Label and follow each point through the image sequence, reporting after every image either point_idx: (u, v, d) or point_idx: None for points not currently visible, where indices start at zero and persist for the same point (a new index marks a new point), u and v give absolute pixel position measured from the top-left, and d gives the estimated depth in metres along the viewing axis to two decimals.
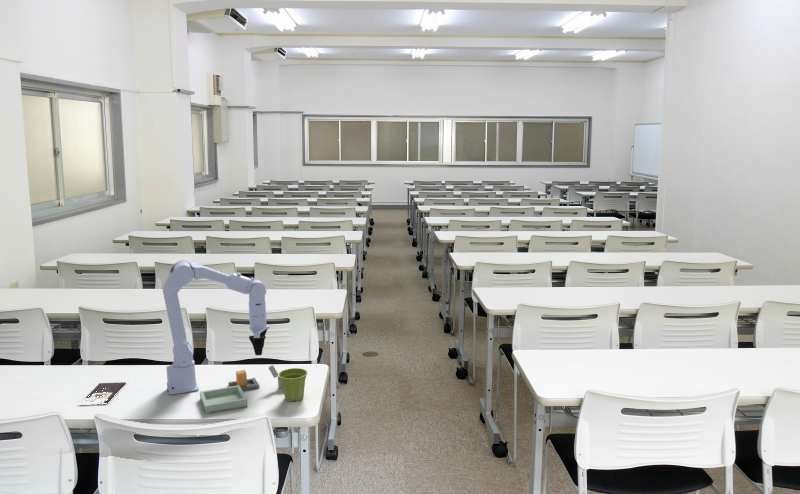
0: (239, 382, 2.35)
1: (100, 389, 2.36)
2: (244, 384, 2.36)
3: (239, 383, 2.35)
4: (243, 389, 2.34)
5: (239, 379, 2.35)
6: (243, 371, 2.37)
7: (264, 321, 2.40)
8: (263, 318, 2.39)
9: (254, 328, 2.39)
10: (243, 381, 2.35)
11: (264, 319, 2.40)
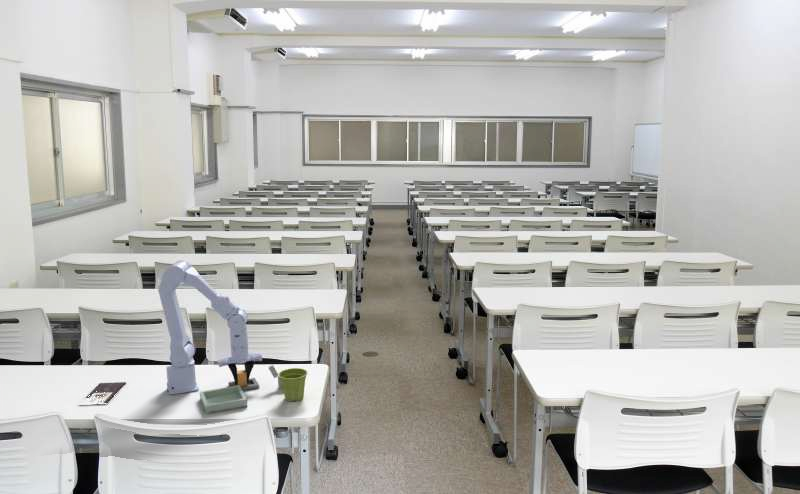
0: (239, 382, 2.35)
1: (100, 389, 2.36)
2: (244, 384, 2.36)
3: (239, 383, 2.35)
4: (243, 389, 2.34)
5: (239, 379, 2.35)
6: (243, 371, 2.37)
7: (235, 353, 2.32)
8: (235, 351, 2.32)
9: (231, 357, 2.35)
10: (243, 381, 2.35)
11: (236, 352, 2.32)
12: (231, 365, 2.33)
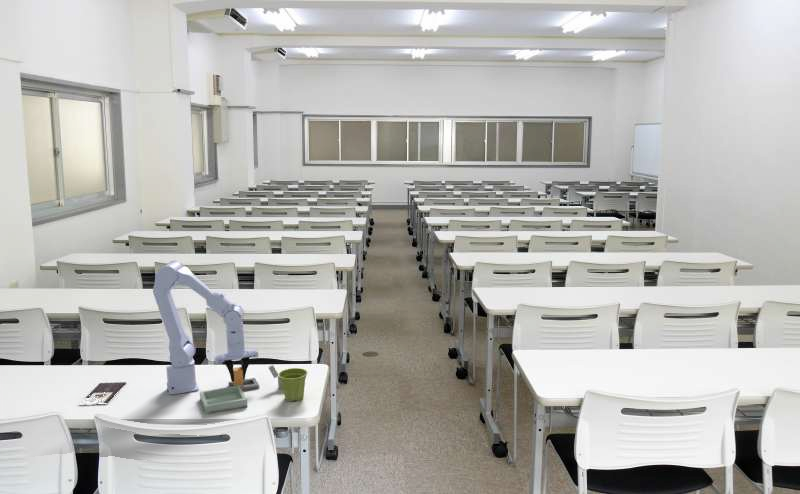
0: (235, 379, 2.34)
1: (100, 389, 2.36)
2: (240, 381, 2.35)
3: (235, 380, 2.34)
4: (243, 389, 2.34)
5: (235, 376, 2.34)
6: (239, 368, 2.36)
7: (232, 350, 2.31)
8: (231, 347, 2.31)
9: (227, 353, 2.34)
10: (239, 378, 2.35)
11: (232, 348, 2.31)
12: (227, 361, 2.33)
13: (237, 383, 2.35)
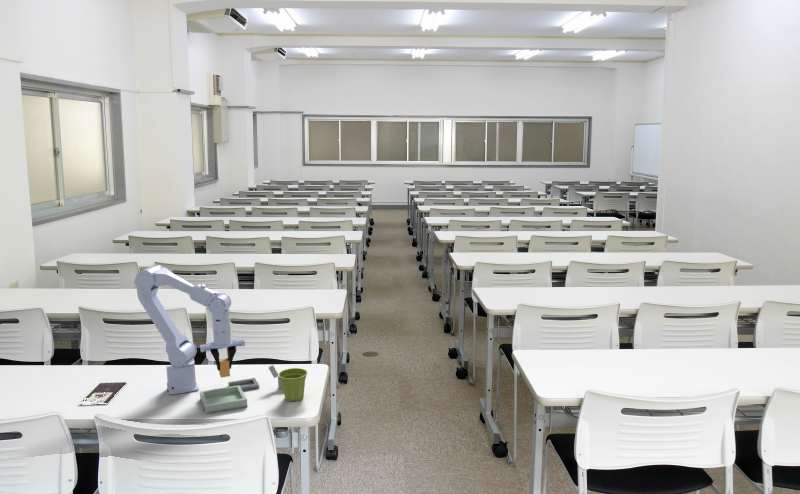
0: (222, 370, 2.32)
1: (100, 389, 2.36)
2: (227, 372, 2.32)
3: (222, 371, 2.32)
4: (243, 389, 2.34)
5: (222, 367, 2.31)
6: (226, 359, 2.33)
7: (218, 338, 2.29)
8: (217, 335, 2.29)
9: (213, 342, 2.32)
10: (226, 369, 2.32)
11: (218, 337, 2.29)
12: (213, 350, 2.30)
13: (223, 374, 2.32)
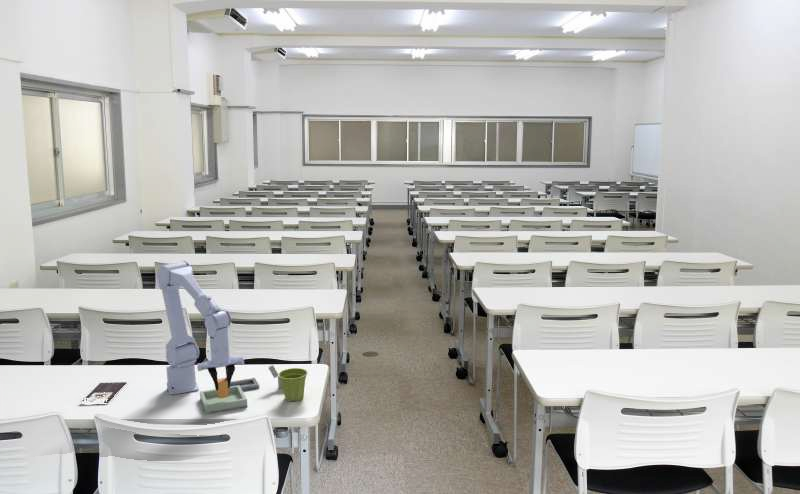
0: (220, 391, 2.21)
1: (100, 389, 2.36)
2: (225, 393, 2.22)
3: (220, 392, 2.21)
4: (243, 389, 2.34)
5: (220, 388, 2.21)
6: (224, 379, 2.23)
7: (215, 357, 2.18)
8: (215, 354, 2.18)
9: None
10: (224, 390, 2.22)
11: (216, 355, 2.18)
12: (211, 369, 2.20)
13: (222, 395, 2.22)
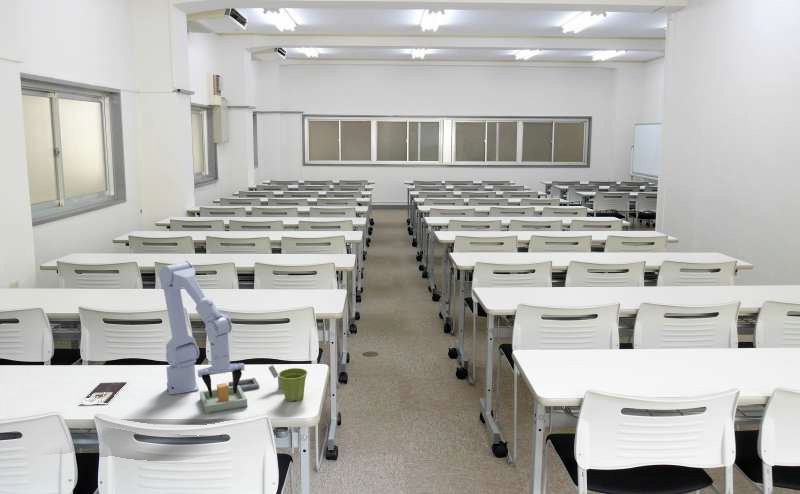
0: (220, 396, 2.22)
1: (100, 389, 2.36)
2: (226, 398, 2.23)
3: (220, 397, 2.22)
4: (243, 389, 2.34)
5: (220, 393, 2.22)
6: (225, 384, 2.23)
7: (216, 363, 2.19)
8: (215, 360, 2.19)
9: (212, 367, 2.22)
10: (224, 395, 2.22)
11: (216, 361, 2.19)
12: None
13: (222, 400, 2.22)
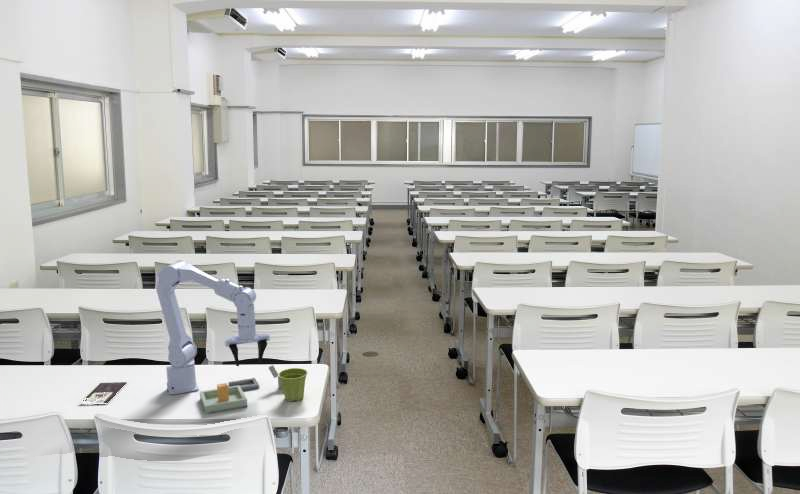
0: (220, 396, 2.22)
1: (101, 389, 2.36)
2: (226, 398, 2.23)
3: (220, 397, 2.22)
4: (243, 389, 2.34)
5: (220, 393, 2.22)
6: (225, 384, 2.23)
7: (243, 333, 2.27)
8: (242, 330, 2.26)
9: (238, 337, 2.30)
10: (224, 395, 2.22)
11: (243, 331, 2.26)
12: None
13: (222, 400, 2.22)
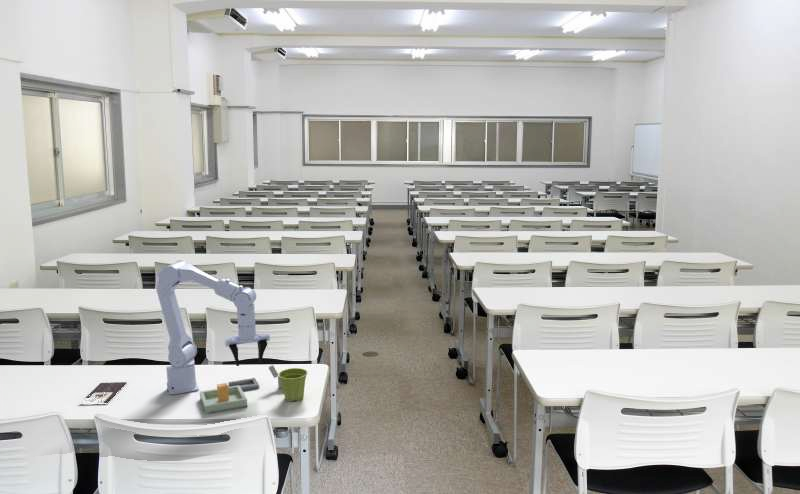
0: (220, 396, 2.22)
1: (101, 389, 2.36)
2: (226, 398, 2.23)
3: (220, 397, 2.22)
4: (243, 389, 2.34)
5: (220, 393, 2.22)
6: (225, 384, 2.23)
7: (243, 333, 2.27)
8: (242, 330, 2.27)
9: (238, 337, 2.30)
10: (224, 395, 2.22)
11: (243, 331, 2.27)
12: None
13: (222, 400, 2.22)
